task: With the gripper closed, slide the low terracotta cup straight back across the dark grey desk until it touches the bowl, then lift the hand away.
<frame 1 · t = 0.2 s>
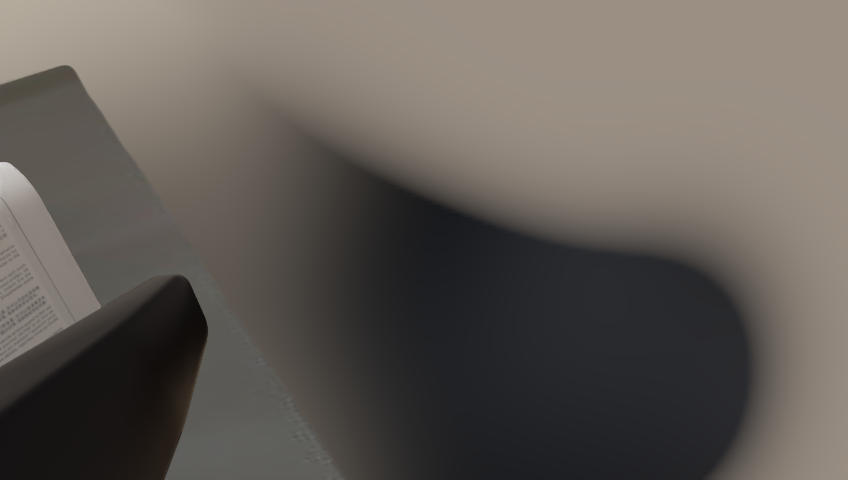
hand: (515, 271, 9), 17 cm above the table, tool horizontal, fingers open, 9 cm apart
white rounded block: (36, 399, 36), on the table
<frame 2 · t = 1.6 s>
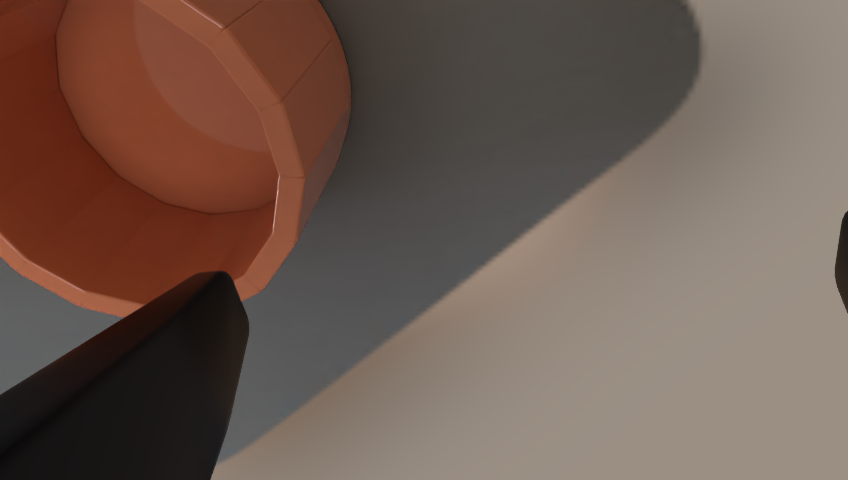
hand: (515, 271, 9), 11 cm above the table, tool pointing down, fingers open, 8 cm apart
cup: (202, 84, 20), on the table
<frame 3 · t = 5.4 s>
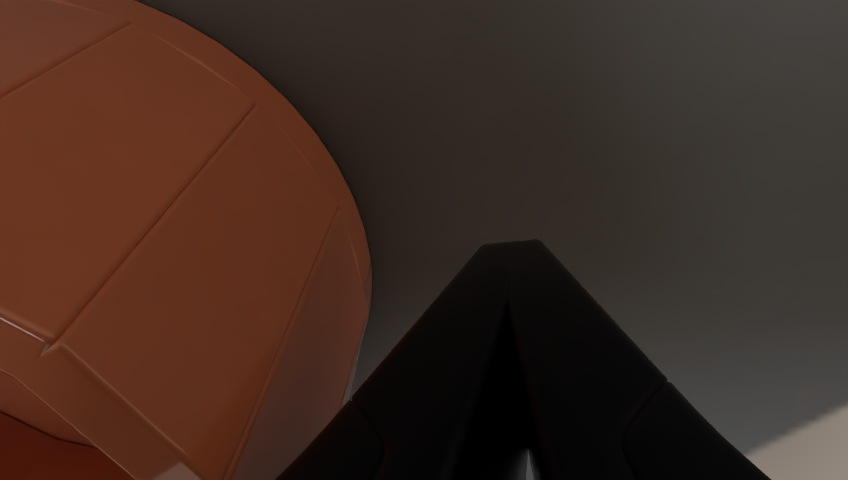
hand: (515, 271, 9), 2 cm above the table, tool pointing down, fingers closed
cup: (109, 257, 11), on the table, touching gripper
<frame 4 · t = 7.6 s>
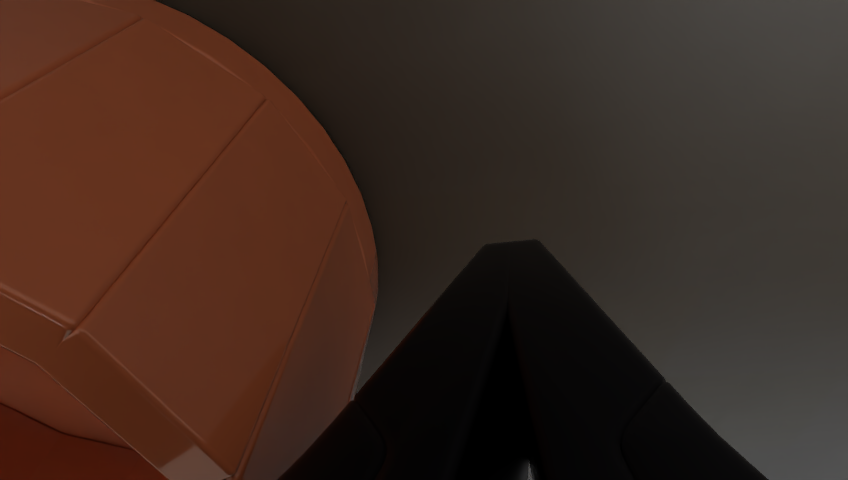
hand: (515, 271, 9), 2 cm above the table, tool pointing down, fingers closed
cup: (116, 252, 11), on the table, touching gripper
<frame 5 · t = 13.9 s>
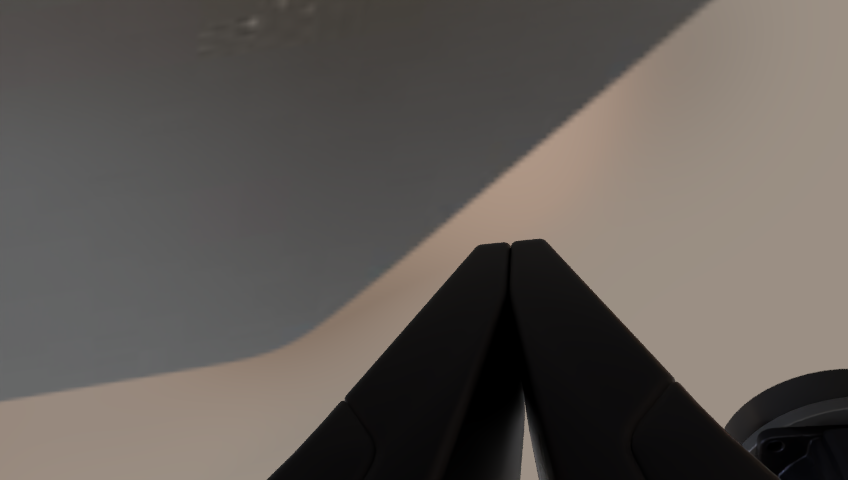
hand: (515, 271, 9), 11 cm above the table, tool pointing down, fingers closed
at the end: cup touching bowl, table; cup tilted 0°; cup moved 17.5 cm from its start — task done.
